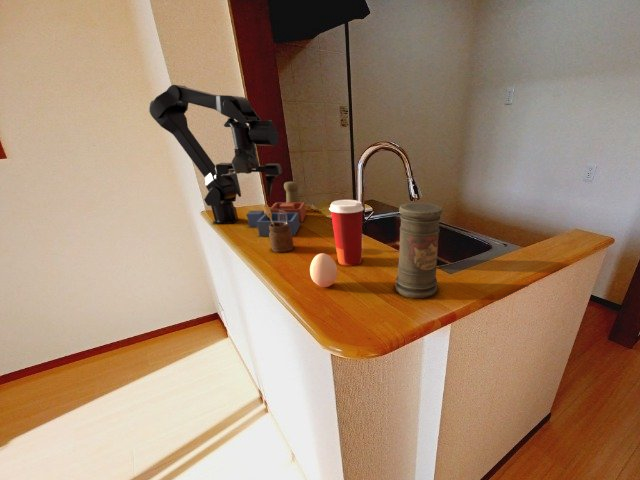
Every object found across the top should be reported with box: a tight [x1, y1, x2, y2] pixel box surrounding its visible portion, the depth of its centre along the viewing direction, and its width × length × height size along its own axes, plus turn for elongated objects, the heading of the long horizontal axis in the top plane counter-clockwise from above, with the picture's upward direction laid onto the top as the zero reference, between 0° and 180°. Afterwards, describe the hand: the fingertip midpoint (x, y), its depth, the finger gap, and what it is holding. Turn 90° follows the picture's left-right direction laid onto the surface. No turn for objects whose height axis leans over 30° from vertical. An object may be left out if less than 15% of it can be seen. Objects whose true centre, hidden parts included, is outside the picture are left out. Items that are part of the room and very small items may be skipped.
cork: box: [283, 181, 301, 203], centre depth 124 cm, size 6×6×11 cm
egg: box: [309, 252, 338, 288], centre depth 69 cm, size 6×6×8 cm
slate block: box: [246, 210, 265, 228], centre depth 108 cm, size 4×4×4 cm
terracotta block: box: [280, 202, 295, 209], centre depth 115 cm, size 4×4×4 cm
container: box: [394, 202, 443, 299], centre depth 66 cm, size 9×9×18 cm
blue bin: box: [257, 212, 301, 237], centre depth 103 cm, size 11×11×5 cm
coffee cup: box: [328, 199, 365, 267], centre depth 79 cm, size 8×8×15 cm
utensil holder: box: [263, 204, 294, 253], centre depth 87 cm, size 6×6×12 cm
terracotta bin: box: [269, 201, 307, 223], centre depth 116 cm, size 11×11×5 cm
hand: (254, 196), depth 105 cm, fingers open, 9 cm apart
